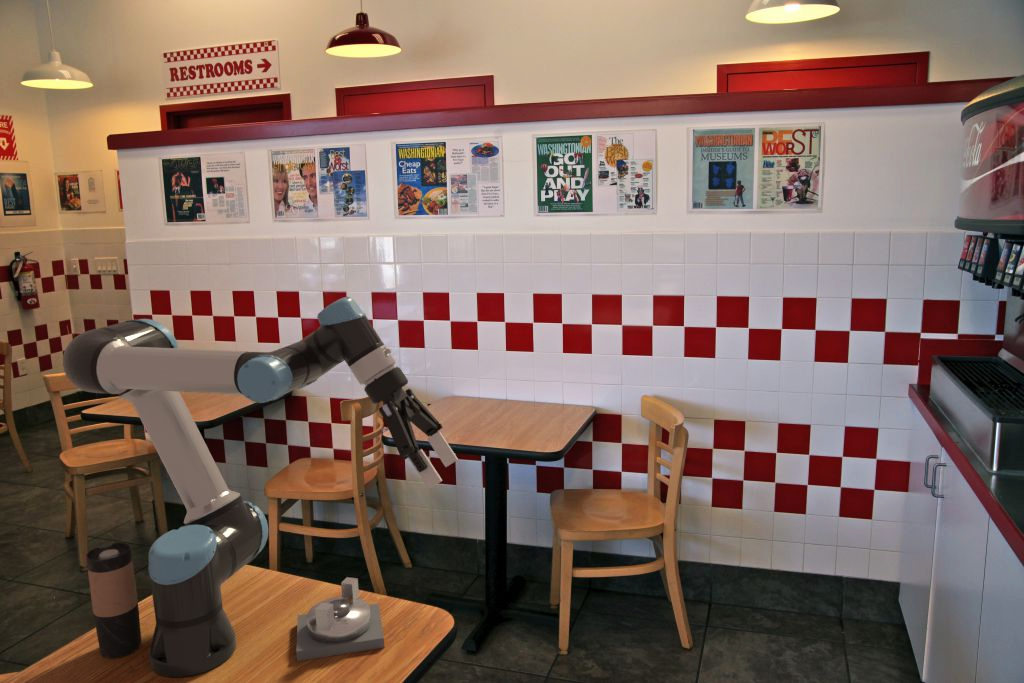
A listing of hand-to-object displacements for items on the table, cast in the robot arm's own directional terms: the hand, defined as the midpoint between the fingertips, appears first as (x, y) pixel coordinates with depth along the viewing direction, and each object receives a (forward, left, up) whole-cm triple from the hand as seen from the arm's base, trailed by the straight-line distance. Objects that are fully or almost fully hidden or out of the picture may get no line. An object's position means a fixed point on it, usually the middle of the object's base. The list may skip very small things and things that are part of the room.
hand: (444, 473), depth 143 cm
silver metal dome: (-20, +9, -32) cm, 39 cm away
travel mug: (-61, +16, -34) cm, 72 cm away
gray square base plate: (-20, +9, -34) cm, 41 cm away
